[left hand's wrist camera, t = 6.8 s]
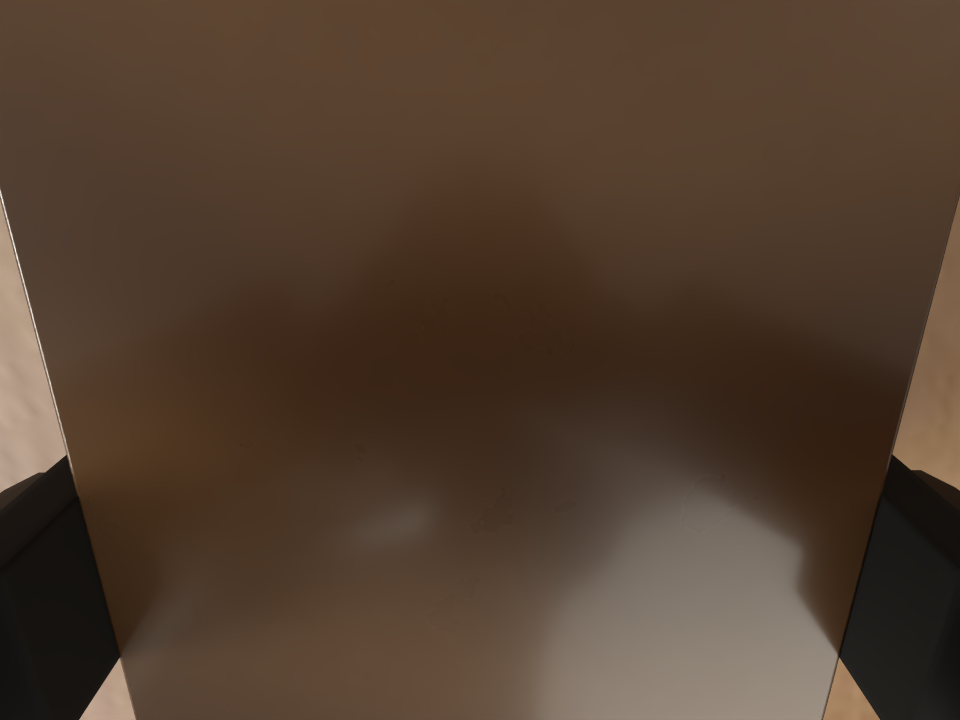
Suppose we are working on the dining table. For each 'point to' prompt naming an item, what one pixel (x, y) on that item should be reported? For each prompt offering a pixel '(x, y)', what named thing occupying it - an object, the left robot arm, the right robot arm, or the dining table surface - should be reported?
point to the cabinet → (479, 338)
